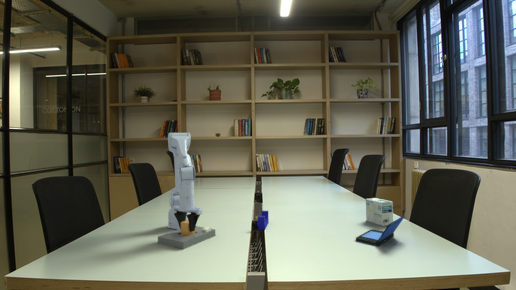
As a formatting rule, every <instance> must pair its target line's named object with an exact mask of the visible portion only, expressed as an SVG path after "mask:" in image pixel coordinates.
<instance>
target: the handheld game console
mask: <svg viewBox="0 0 516 290" xmlns="http://www.w3.org/2000/svg"><path fill="white" fill-rule="evenodd" d="M403 220H404V216H403V215H402V216H401V217H399V218H397V219H395V220H393V222H392V223H390V224H389V225H386V227H385V229H384V230H380V229H375V228H374V229H369V230H367V231H366V232H363V233H362V234H360V235H358V236H356V237H355V241H356V242H359V243H362V244H367V245H372V246H376V247H380V246H381V245H382V244H384V243H385V242H386V241H389V240H390V239H391V238H393V237H395V231H397V229H398V227H399V226H400V224H401V223H402V221H403Z"/></svg>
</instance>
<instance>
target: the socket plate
mask: <svg viewBox="0 0 516 290" xmlns="http://www.w3.org/2000/svg"><path fill="white" fill-rule="evenodd" d="M215 236H216V229H215V228H214V229H213V228H212V227H209V226H207V227H203V226H198V225H196V227H195V233H194V234H192V235H189V236H184V235H181V230H180V229H178V230H177V229H174V230H173V231H171V232H167V233H164V234H161V235H158V236H157V244H161V245H164V246H168V247H173V248H176V249H182V250H186V249H188V248H191V247H192V246H194V245H197V244H199V243H201V242H203V241H206V240H208V239H210V238H213V237H215Z"/></svg>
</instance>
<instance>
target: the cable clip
mask: <svg viewBox="0 0 516 290" xmlns="http://www.w3.org/2000/svg"><path fill="white" fill-rule="evenodd" d="M269 220H270V218H269V210H261V215H258V216H257V223H256V226H257V230H258V231H266V229H267V227H268V225H269Z"/></svg>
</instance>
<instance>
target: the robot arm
mask: <svg viewBox="0 0 516 290" xmlns="http://www.w3.org/2000/svg"><path fill="white" fill-rule="evenodd" d="M191 139H192V138H191V133H190V132H189V131H188V132H169V133H168V135H167V143H168V146H167V147H168V151H169V152H171V153H172V154H173V161H174V164H173V165H174V179H175V184H174V185H175V187H174V188H173V189H171V190H170V192H169V207H170V209H169V210H168V213H167V214H168V215H167V217H168V219H167V220H168V221H167V222H168V225H167V226H166V228H167V229H168V228H169V229H173V230H178V229H180V230H181V222H183V221H186V220H188V221H189V230H190V232H192V231H195V227H196V226H197V222H198V220H199V217H200V216H201V215H202V214H203V209H202V208H199V207H197V206H195V187H194V186H195V181H196V180H195V179H196V170H195V166H194V165H193V163H192V159H191V156H190V154H188V151H189V150H190V145H191V142H192V141H191Z"/></svg>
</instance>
